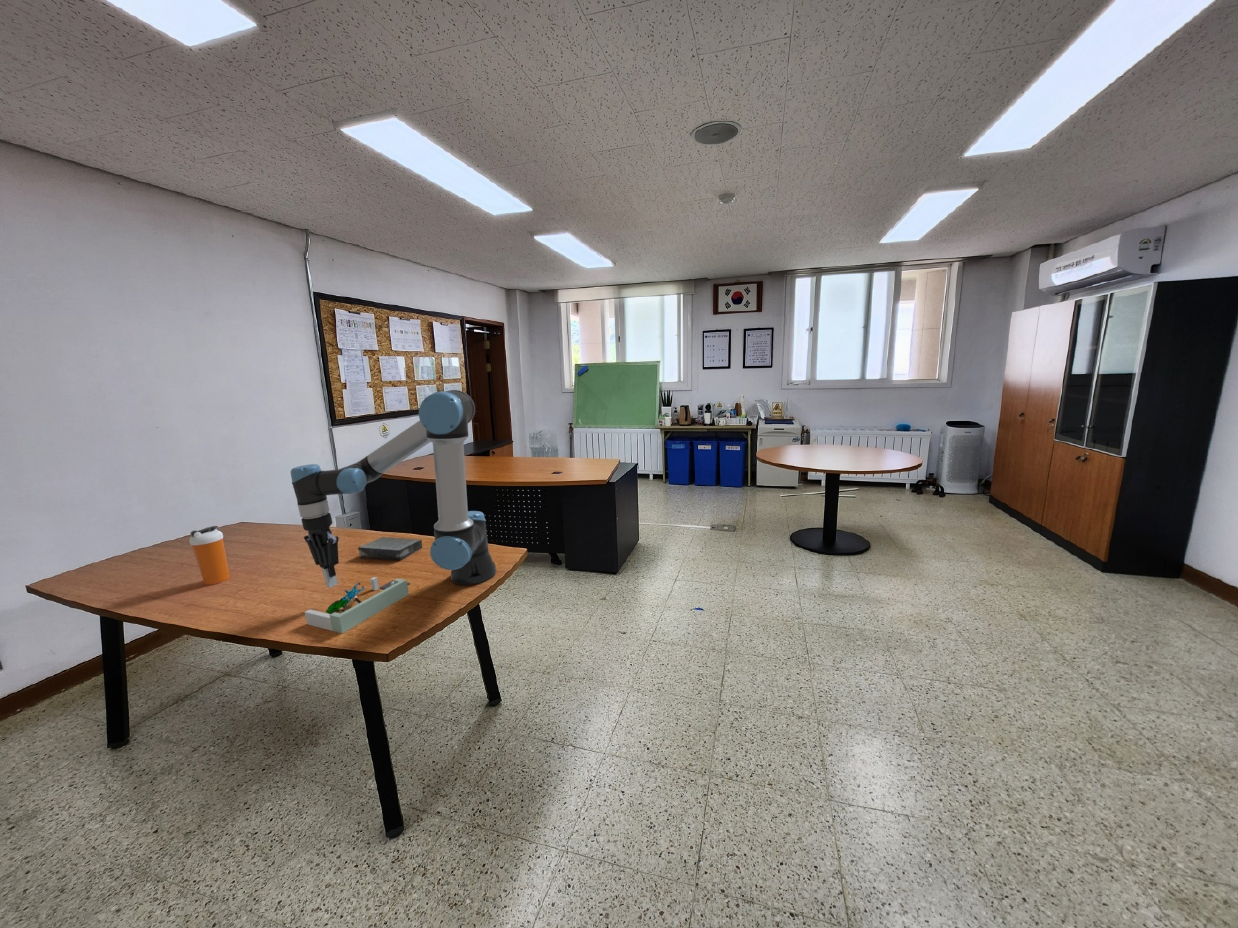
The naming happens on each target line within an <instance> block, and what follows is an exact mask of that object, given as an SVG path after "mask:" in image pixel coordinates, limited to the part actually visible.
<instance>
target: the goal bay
mask: <svg viewBox="0 0 1238 928" xmlns="http://www.w3.org/2000/svg"><path fill="white" fill-rule="evenodd" d="M393 580H394V585H392V586H390V587H388V588H387V589H383V590H381V591H379V592H378V593H375V594H374V595H372V596H370V597H368V598H367V599H365V600H363V601H361V603H357V604H356V605H353V606H352V607H350V608H348V609H346V610H345V612H341V613H340V612H336V611H333V612H331V613H329V614H330V620H331V625H332V630H333V631H332V632H335V633H339V634H344V633H346V632H347V631H349V630H350V629H353V628H354V627H355V626H356V627H357V626H358V625H359V624H361V623H363V622H364V621H367V620H368V619H369V618H371V617H373V616H374V615H376V614H378V613H380V612H381V611H383V610H384V609H386V608H388V607H390V606H391V605H393V604H394V603H397V602H398V601H399V600H401V599H403V598H405V597H407V596H408V595H410V594H409V587H408V586H409V585H408V586H407V583H408V582H407V581H408V580H407V579H403V578H396V579H393Z"/></svg>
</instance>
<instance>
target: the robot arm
mask: <svg viewBox="0 0 1238 928" xmlns="http://www.w3.org/2000/svg"><path fill="white" fill-rule="evenodd" d="M475 414H476V405H475V403H474V400H473V398H472V397H471V396H470V395H469V394H468V393H466V392H464V391H463V390H457V389H451V390H441V391H436V392H433V393H431V394H429V395H427V396H426V397H425V398H424V399H423V400H422V402H421V403H420V405H419V409H418V418H419V420H418V421H417V422H415V423H414V424H412V425H411V426H409V427H408V428H406V429H404V430H403V431H402V432H400V433H398V435H396V436H395V437H393V438H392V439H390V440H388V441H387V442H386V443H384V444H383V445H381V446H380V447H378V448H376V449H375V450H373V452H370V453H369V454H368V455H366V456H364V457H363V458H362V459H360V460H359V461H357V462H355V463H353V464H350V465H347V466H344V467H341V468H338V469H330V470H322V469H321V467H320V465H319V464H316V463H313V464H305V465H299V466H296V467H293V468H291V470H290V476H291V484H292V488H293V490H294V491H293V492H294V494H295V497H296V501H297V506H298V512H299V516H300V517H301V524H302V528H303V530H304V531H307V533H308V535H305V536H303V539H304V540H305V543H306V544H307V546H308V548H309V551H310V553H311V556H312V558H313V561H314V563H315V565H316V566H319V567H320V568H321V571H322V574H323V578H324V583H325V585H326V588H329V589H331V588H333V587H335V586H337V585H338V584H339V583H338V578H337V575H336V574H337V573H336V569H335V566H337V565H338V564H339V562H340V561H339V560H340V559H339V543H338V542H339V539H340V537H339V536H338V535H336V536H334V535H333V533H332V530H331V528H330V527H331V525H333V519H332V516H331V515H332V514H331V513H330V507H329V502H328V497H327V496H333V495H347V494H348V495H352V494H356V493H361V492H363V491H364V489H365V488H366V486H367V484H369V483H372V482H374V481H377V480H378V479H379V478H380V477H381V476H382V475H383V474H385V473H386V472H388V471H389V470H390V469H392V468H394V467H395V466H397V465H399V464H400V463H401V462H402V461H404V460H406V459H407V458H409V457H410V456H412V455H413V454H415V453H416V452H417V451H419V450H421V449H423V448H424V447H425V446H427V445H428V444H430V443H432V447H433V448H432V449H433V461H434V462H433V463H434V465H433V466H434V476H435V489H436V500H437V502H436V504H437V513H438V514H437V517H438V520H437V522H435V523H434V524H433V534H434V541H432V543H431V546H430V549H429V554H430V555H429V556H430V558H431V560H432V562H433V563H434V564H435V565H437V566H439V568H441V569H444V570H448V571H450V579H451V582H452V583H454V584H455V585H460V586H472V585H476V584H477V585H478V584H480V583H484V582H485V581H488V580H490V579H492V578H494V576H496V573H497V566H496V563H495V562H494V560H493V558H492V556H491V554H490V550H489V543H488V541H489V540H488V535H487V525H486V518H485V513H483V512H482V511H478V510H470V511H469V509H468V508H469V507H468V496H467V495H468V493H467V492H468V491H467V480H466V478H467V476H466V465H465V464H466V463H465V462H466V460H465V446H464V445H465V444H464V443H465V441H466V440H467V439H468V438H469V423H471V422H472V420H473V418H474V416H475Z"/></svg>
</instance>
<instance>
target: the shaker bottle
mask: <svg viewBox="0 0 1238 928" xmlns="http://www.w3.org/2000/svg"><path fill="white" fill-rule="evenodd" d="M218 527H219V526H218V525H214V526H213V525H212V526H208V527H205V528H202V529H199V530H196V529H195V530H191V532H190V537H189V539H188V540H189V546H190V547H191V548H192V551H193V555H194V557H195V560H196V563H197V567H198V570H199V572H200V575H201V578H202V581H203V583H204V585H206V586H211V585H212V584H213V585H216V584H217V585H218V584H221V583H224V582H226V581H227V580H229V579H230V577H231V576H230V575H231V574H230V571H229V570H230V569H229V565H228V558H227V555H226V554H227V553H226V548H225V542H224V533H223V532H222V531H220V530H218ZM223 581H224V582H223ZM213 585H212V586H213Z"/></svg>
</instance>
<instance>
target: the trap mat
mask: <svg viewBox="0 0 1238 928" xmlns="http://www.w3.org/2000/svg"><path fill="white" fill-rule="evenodd" d="M394 580H395V579H393V580H390V581H389V582H387V583H385V584H384V585H381V586H379V589H383V590H385V589H387V588H388V587H390V586H391V582H393V581H394ZM410 585H411V583H410V582H407V586H410Z"/></svg>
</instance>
